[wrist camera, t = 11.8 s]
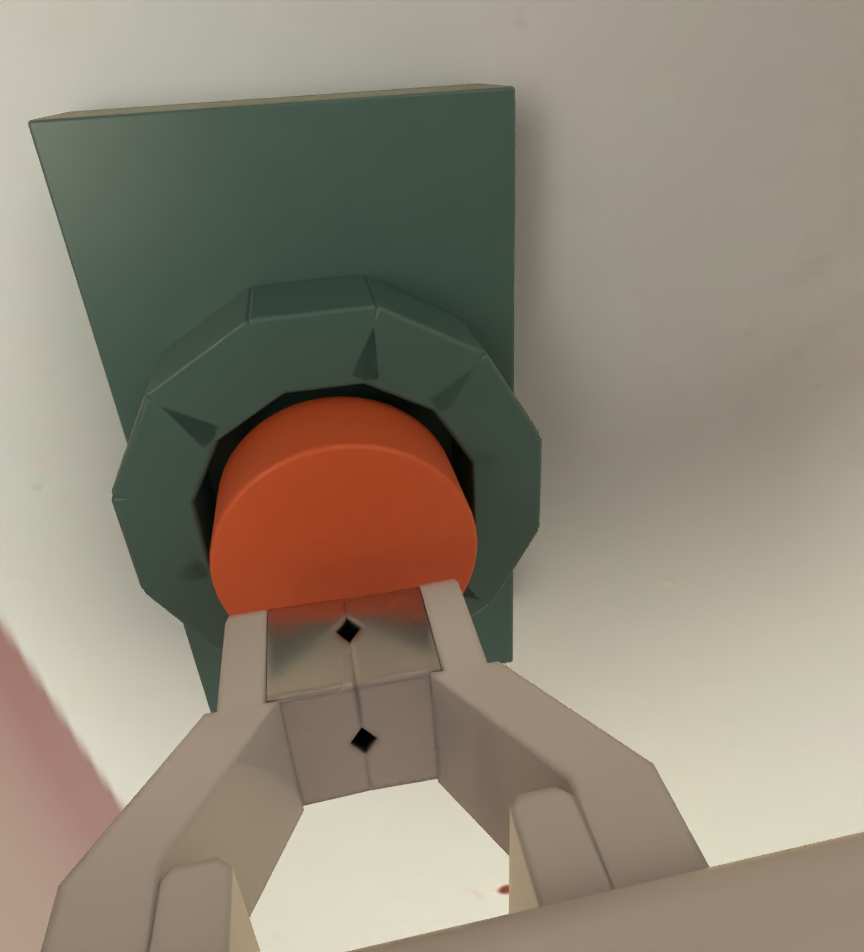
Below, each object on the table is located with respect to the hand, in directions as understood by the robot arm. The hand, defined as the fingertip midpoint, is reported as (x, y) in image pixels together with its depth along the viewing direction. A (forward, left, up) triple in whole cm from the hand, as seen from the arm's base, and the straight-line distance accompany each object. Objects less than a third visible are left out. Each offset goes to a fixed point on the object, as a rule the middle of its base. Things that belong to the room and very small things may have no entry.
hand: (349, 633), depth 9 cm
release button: (0, 0, -3) cm, 3 cm away
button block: (0, 0, -7) cm, 7 cm away
